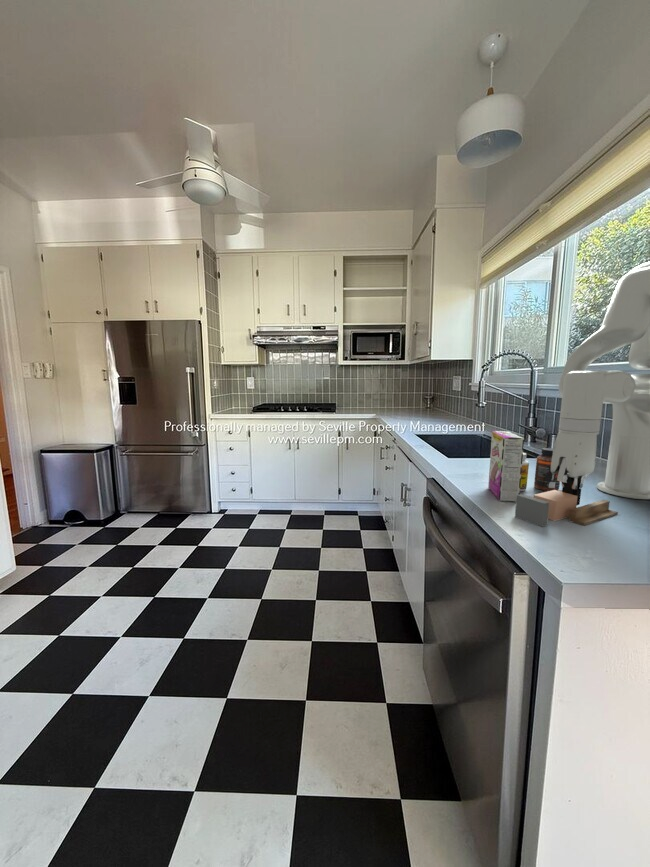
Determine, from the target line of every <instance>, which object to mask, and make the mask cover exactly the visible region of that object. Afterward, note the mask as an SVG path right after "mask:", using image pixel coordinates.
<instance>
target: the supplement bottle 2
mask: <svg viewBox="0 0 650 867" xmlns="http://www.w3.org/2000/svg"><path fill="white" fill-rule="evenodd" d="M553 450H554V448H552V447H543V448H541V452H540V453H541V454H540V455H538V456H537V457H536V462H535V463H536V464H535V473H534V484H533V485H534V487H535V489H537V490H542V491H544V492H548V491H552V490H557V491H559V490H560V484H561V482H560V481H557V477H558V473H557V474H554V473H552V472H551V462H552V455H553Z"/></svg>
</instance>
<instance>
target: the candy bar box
mask: <svg viewBox="0 0 650 867" xmlns="http://www.w3.org/2000/svg"><path fill="white" fill-rule="evenodd" d="M490 440H491V441H490V455H489V456H490V457H489V459H490V460H489V473H488V487H487V488H488V489H489V490H490V491H491V493H492V494H493V495H494V496H495V497H496V499H497V500H498V501H499V502H507V503H509V502H510V503H516V499H517V495H520V494H521V491H520V484H521V471H522V459H523V453H524V443H525V438H524V437H522V436H520V435H517V434H516V433H514V432H511V431H507V430H506V431H505V430H493V431H491V439H490Z"/></svg>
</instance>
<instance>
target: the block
mask: <svg viewBox="0 0 650 867" xmlns="http://www.w3.org/2000/svg"><path fill="white" fill-rule="evenodd" d="M532 497H533V498H536V499H540V500H543V501H546V502H549V510H548V519H547V520H551V521H553V522H556V521H561V520H563V519H566V518H569V514H570V510H571V509H574V508H577V507H578V505H577V497H578V496H576V495H572V494H568V493H564V492H561V491H559V490H552V491H544V492H540V493H536V494H533V496H532Z"/></svg>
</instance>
